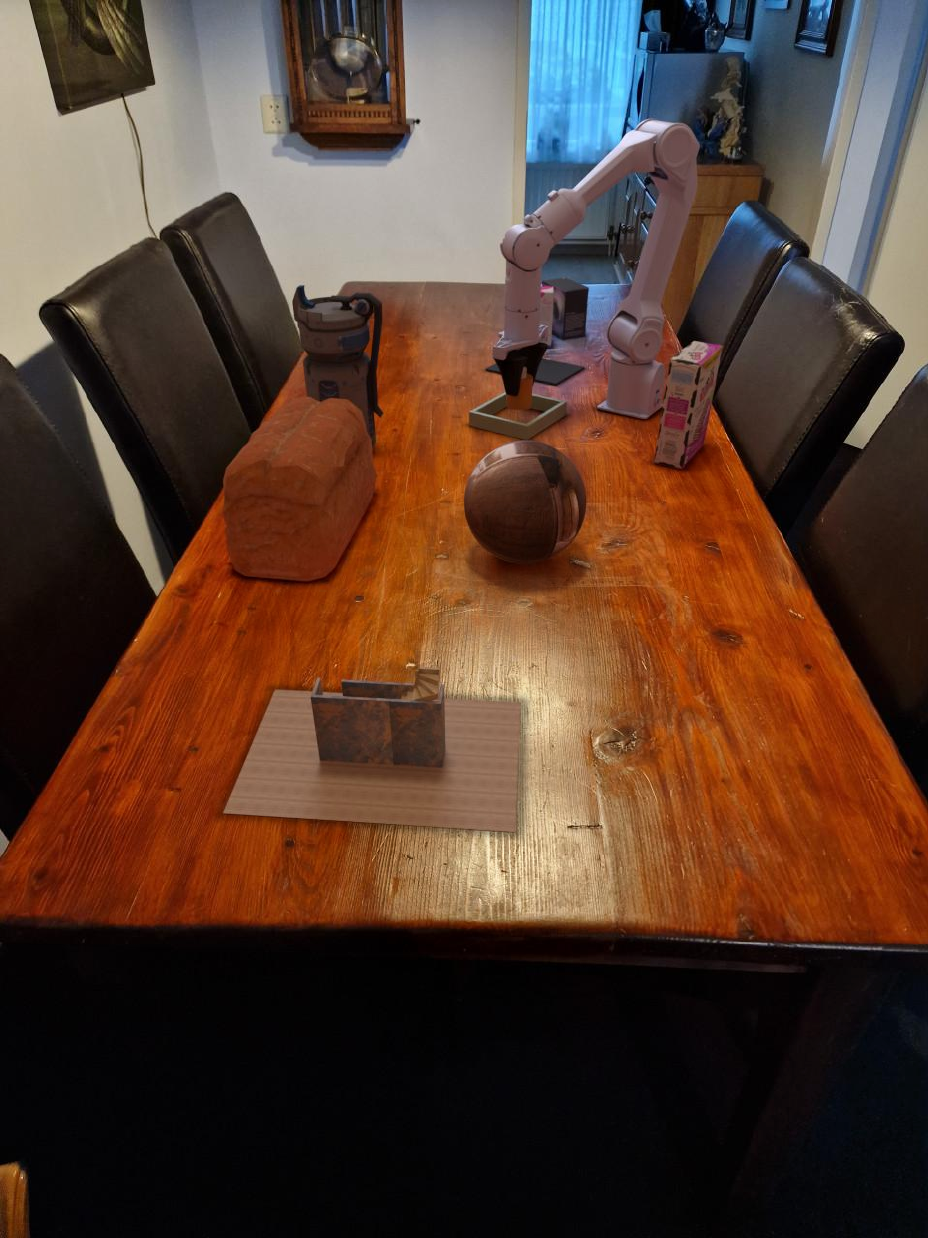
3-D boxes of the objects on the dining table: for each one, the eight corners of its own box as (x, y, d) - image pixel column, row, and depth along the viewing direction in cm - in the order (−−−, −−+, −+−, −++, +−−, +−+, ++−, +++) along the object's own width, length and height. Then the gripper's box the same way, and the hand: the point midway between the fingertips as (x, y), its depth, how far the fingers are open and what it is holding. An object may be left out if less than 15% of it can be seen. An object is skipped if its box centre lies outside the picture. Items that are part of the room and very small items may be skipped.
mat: (584, 368, 164) (584, 366, 164) (555, 385, 156) (555, 383, 156) (516, 354, 172) (516, 352, 171) (485, 370, 163) (485, 368, 163)
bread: (222, 576, 101) (198, 463, 92) (292, 482, 122) (278, 383, 113) (331, 585, 99) (318, 471, 90) (383, 488, 120) (376, 388, 112)
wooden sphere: (447, 538, 108) (446, 431, 99) (550, 519, 112) (556, 414, 104) (490, 597, 97) (492, 481, 88) (602, 573, 101) (615, 461, 92)
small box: (537, 327, 188) (540, 279, 182) (562, 324, 190) (565, 276, 184) (561, 339, 180) (564, 289, 174) (586, 336, 182) (590, 286, 176)
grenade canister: (382, 466, 127) (370, 298, 112) (300, 460, 129) (279, 294, 114) (397, 440, 135) (389, 280, 120) (320, 435, 137) (303, 277, 122)
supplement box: (551, 340, 180) (554, 285, 173) (550, 348, 175) (554, 292, 168) (524, 339, 180) (527, 285, 174) (523, 347, 175) (526, 291, 169)
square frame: (566, 414, 144) (567, 401, 142) (527, 440, 135) (527, 426, 133) (510, 401, 149) (510, 388, 148) (468, 425, 140) (468, 411, 138)
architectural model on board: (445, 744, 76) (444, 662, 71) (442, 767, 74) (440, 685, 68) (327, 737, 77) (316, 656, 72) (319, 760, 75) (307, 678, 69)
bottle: (536, 404, 141) (538, 366, 137) (523, 411, 138) (524, 373, 134) (514, 399, 143) (515, 362, 139) (501, 406, 140) (502, 369, 136)
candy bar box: (683, 471, 125) (701, 364, 115) (652, 464, 127) (667, 358, 118) (706, 445, 133) (724, 343, 123) (676, 439, 135) (692, 338, 125)
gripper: (523, 294, 138) (521, 374, 146) (476, 314, 128) (476, 398, 136) (560, 300, 134) (555, 381, 142) (515, 321, 125) (512, 407, 133)
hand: (519, 390), depth 139 cm, fingers closed on bottle, 4 cm apart
